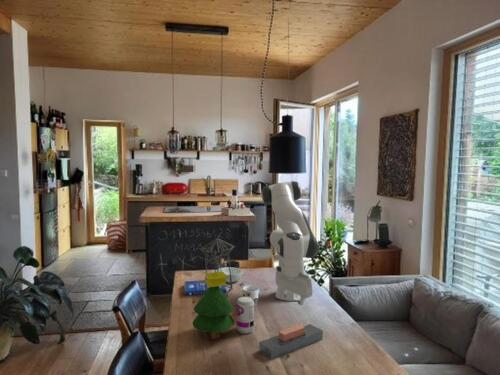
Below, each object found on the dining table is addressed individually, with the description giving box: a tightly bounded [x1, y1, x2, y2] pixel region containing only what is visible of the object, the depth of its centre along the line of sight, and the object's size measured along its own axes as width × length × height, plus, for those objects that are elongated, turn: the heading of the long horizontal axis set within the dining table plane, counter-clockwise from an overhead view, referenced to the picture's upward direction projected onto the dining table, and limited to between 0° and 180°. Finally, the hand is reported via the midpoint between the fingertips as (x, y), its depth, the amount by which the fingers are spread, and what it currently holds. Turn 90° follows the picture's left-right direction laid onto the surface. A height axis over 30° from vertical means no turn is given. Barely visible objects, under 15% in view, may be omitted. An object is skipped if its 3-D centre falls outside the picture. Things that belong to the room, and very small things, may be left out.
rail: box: [258, 323, 324, 360], centre depth 161 cm, size 30×8×4 cm, turn 125°
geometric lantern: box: [200, 237, 235, 298], centre depth 214 cm, size 16×16×35 cm
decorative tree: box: [191, 271, 235, 340], centre depth 168 cm, size 19×19×30 cm
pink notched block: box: [278, 324, 305, 342], centre depth 161 cm, size 12×4×7 cm, turn 125°
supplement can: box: [236, 296, 255, 334], centre depth 174 cm, size 8×8×15 cm
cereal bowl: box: [219, 266, 243, 284], centre depth 244 cm, size 17×17×7 cm
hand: (293, 300), depth 162 cm, fingers open, 8 cm apart
